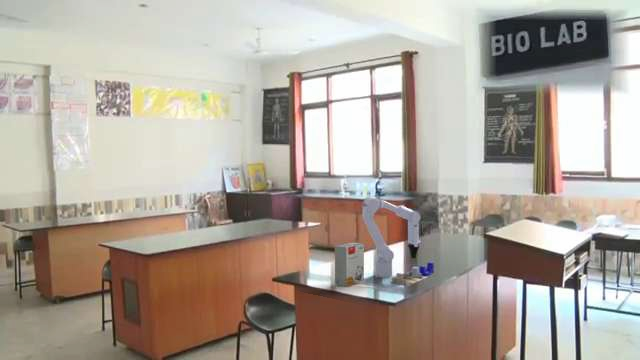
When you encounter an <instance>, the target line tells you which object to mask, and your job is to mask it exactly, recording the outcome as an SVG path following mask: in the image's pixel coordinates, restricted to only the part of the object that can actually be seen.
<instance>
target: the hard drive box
mask: <svg viewBox="0 0 640 360" xmlns="http://www.w3.org/2000/svg"><path fill="white" fill-rule="evenodd" d="M363 280H365V244H364V243H360V242H349V243H343V244H339V245H335V246H334V285H335V286H336V285H337V286H340V287H345V288H347V287H350V286H353V285H356V284H357V283H358V282H361V281H363Z"/></svg>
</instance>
